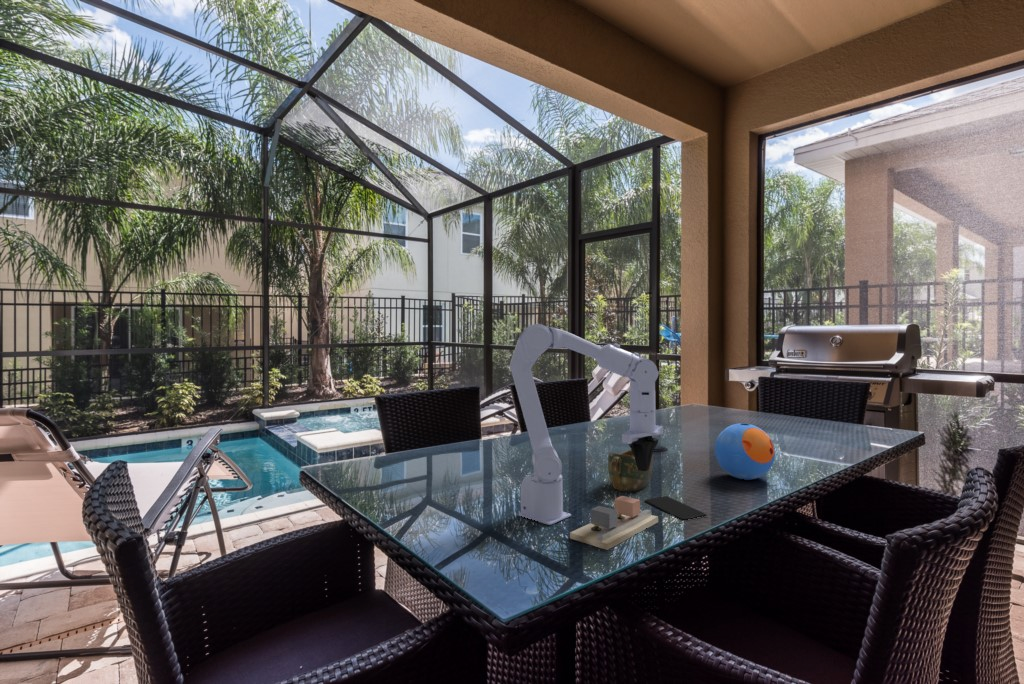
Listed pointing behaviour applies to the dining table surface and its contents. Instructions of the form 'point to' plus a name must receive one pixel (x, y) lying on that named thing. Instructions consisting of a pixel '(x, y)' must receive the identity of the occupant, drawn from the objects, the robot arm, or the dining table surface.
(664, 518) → the dining table surface
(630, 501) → the brownish pink rectangular block
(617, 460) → the cup
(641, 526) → the hole plate
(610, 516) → the fixed leg
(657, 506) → the smartphone
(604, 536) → the divider bar
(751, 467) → the treat dispenser ball
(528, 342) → the robot arm
